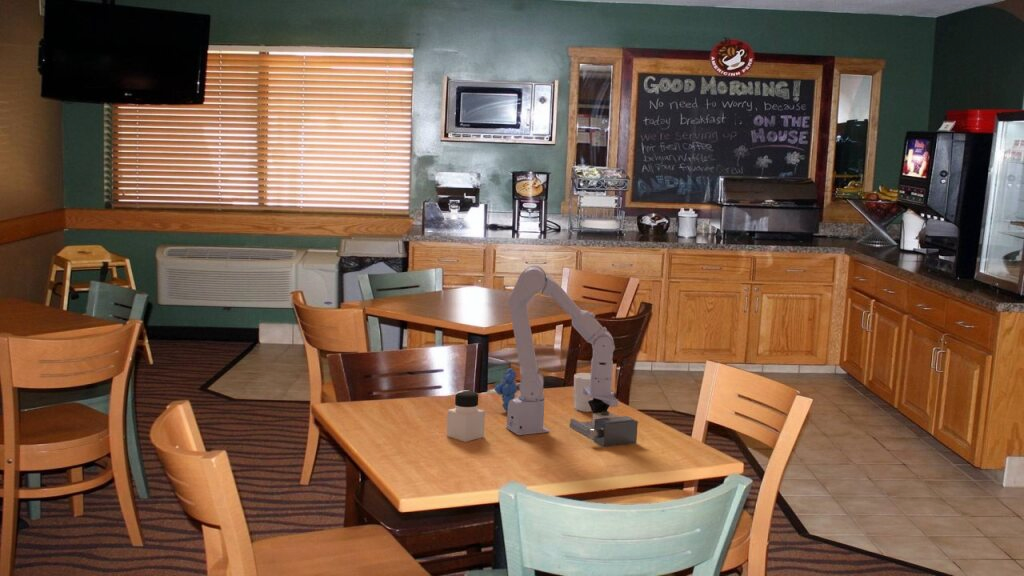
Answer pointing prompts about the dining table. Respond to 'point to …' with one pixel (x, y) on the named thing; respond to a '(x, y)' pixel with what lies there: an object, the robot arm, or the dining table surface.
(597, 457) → the dining table surface
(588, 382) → the white cup
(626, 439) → the module housing
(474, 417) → the medicine bottle
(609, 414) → the block
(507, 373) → the grapes
